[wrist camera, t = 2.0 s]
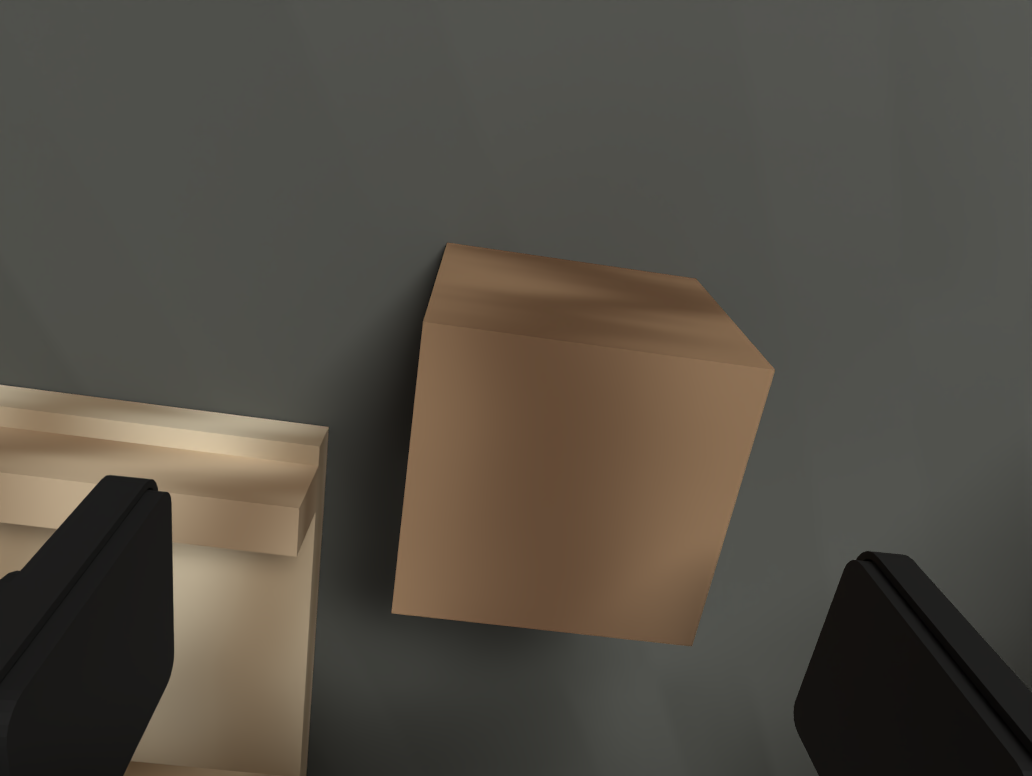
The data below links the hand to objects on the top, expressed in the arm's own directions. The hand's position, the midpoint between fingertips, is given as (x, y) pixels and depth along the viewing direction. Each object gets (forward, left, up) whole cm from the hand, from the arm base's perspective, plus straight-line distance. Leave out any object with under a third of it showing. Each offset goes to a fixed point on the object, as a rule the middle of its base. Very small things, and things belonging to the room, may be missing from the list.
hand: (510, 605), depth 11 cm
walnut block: (-1, 0, -8) cm, 8 cm away
